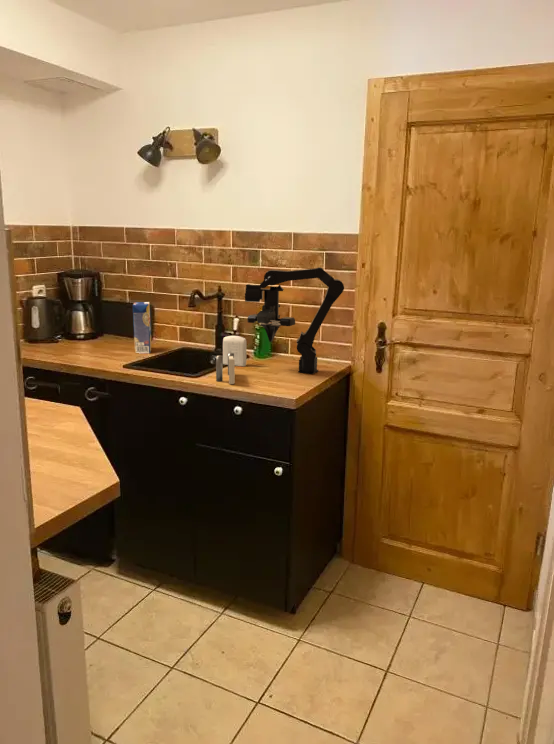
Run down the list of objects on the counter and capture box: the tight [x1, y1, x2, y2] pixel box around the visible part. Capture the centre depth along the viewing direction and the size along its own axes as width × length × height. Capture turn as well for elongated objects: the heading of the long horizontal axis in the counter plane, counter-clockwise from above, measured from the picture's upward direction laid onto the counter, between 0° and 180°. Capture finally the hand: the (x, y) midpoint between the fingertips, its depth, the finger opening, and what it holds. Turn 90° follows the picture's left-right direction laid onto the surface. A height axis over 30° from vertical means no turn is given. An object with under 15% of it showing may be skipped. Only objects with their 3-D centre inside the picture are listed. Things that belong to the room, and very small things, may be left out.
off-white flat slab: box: [228, 356, 236, 385], centre depth 213 cm, size 14×2×9 cm, turn 6°
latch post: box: [215, 355, 224, 382], centre depth 211 cm, size 2×2×10 cm
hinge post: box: [227, 353, 234, 376], centre depth 221 cm, size 2×2×8 cm
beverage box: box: [132, 301, 152, 354], centre depth 261 cm, size 7×11×22 cm, turn 9°
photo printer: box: [222, 335, 247, 367], centre depth 237 cm, size 10×4×12 cm, turn 73°
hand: (270, 341), depth 226 cm, fingers closed
